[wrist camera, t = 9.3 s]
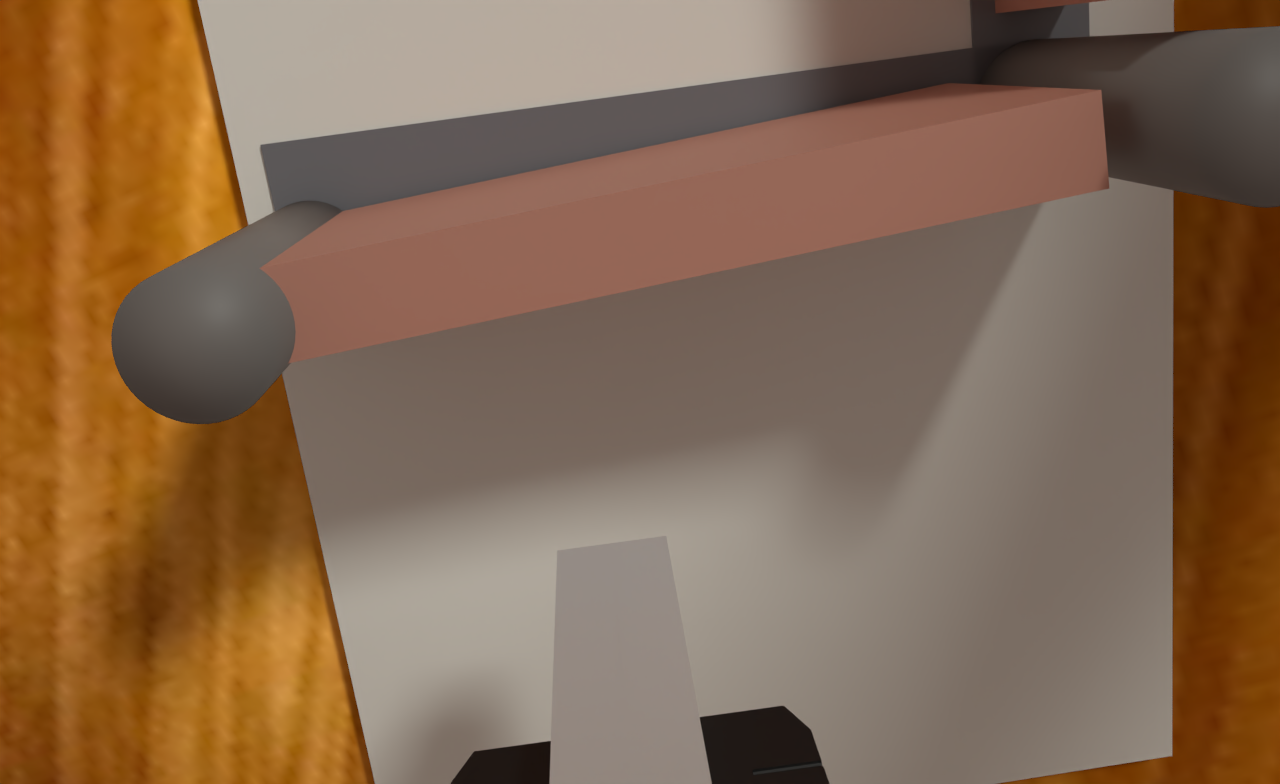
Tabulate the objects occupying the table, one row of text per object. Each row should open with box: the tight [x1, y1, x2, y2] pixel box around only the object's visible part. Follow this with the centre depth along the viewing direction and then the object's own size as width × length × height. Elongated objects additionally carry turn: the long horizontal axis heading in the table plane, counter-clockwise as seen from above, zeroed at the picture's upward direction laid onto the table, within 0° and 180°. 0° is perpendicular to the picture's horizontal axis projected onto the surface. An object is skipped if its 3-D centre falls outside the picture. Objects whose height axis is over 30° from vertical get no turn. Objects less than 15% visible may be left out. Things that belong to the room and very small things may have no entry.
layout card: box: [198, 0, 1174, 784], centre depth 19 cm, size 29×16×1 cm, turn 7°
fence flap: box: [112, 83, 1109, 424], centre depth 16 cm, size 12×2×7 cm, turn 101°
